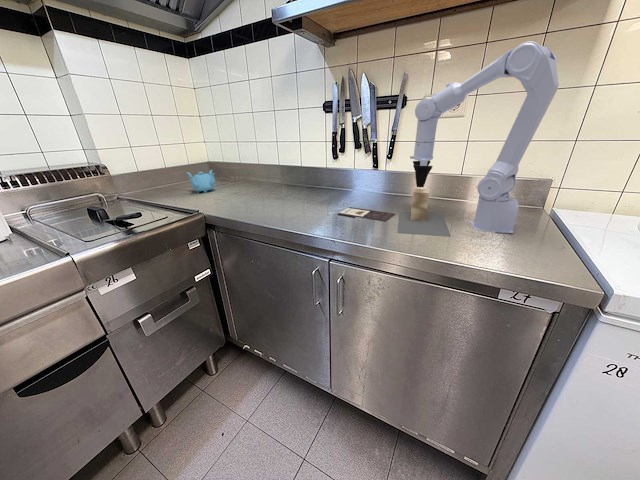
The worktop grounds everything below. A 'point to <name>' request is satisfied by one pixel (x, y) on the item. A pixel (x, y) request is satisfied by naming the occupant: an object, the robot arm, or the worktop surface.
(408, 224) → the rubber mat
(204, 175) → the teapot
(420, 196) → the birch block
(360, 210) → the chocolate bar
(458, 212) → the worktop surface
